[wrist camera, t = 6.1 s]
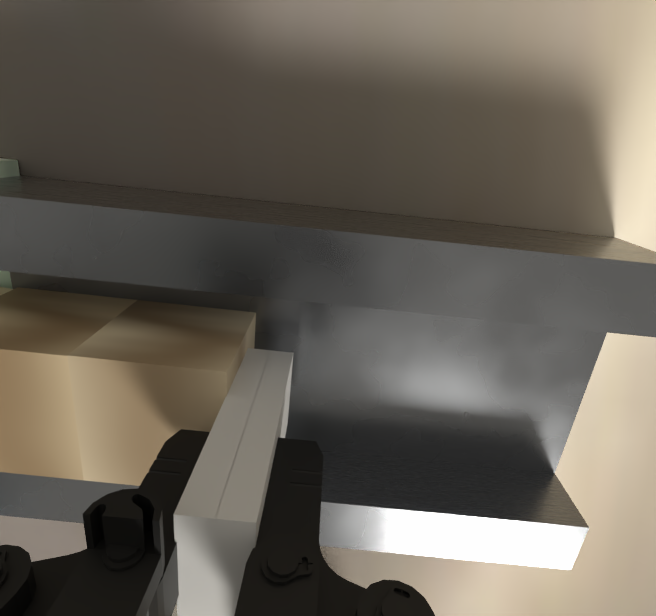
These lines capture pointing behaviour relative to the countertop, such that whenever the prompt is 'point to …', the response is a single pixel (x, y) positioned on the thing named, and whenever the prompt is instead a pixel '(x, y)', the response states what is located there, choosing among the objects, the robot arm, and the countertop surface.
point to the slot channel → (366, 349)
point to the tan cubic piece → (152, 382)
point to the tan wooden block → (44, 376)
